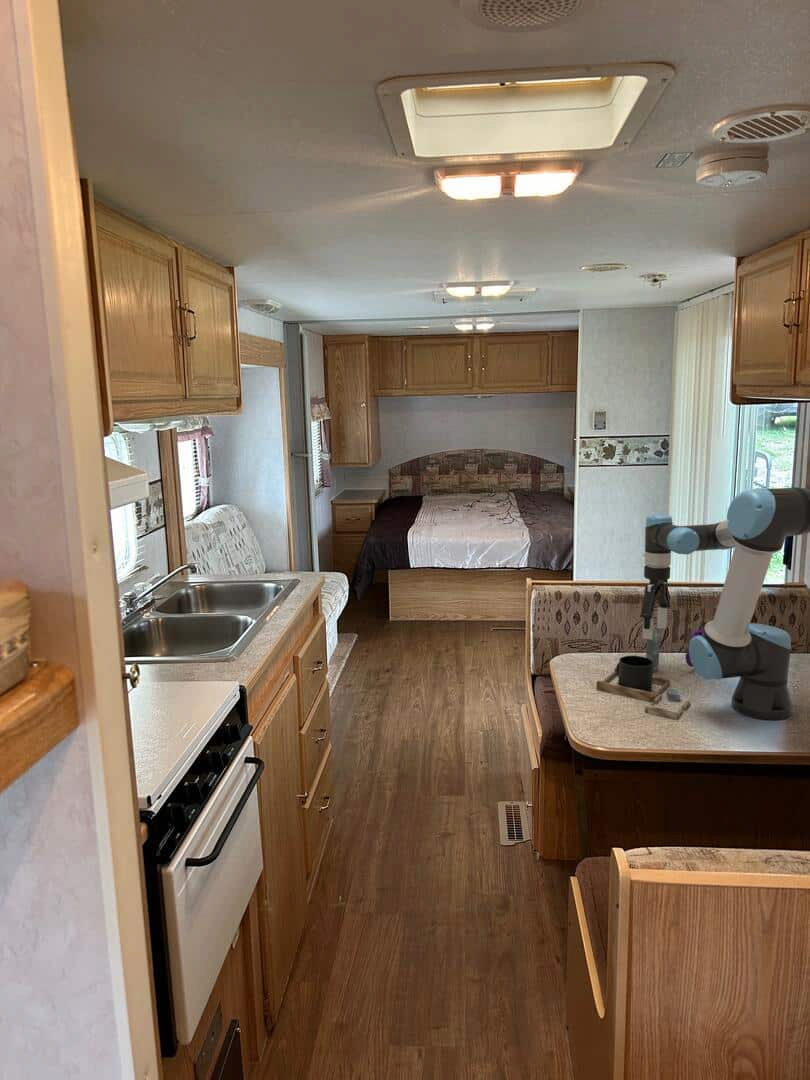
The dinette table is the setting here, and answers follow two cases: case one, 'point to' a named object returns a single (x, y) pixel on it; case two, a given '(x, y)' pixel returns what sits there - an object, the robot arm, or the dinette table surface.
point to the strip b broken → (672, 696)
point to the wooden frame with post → (605, 686)
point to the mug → (635, 672)
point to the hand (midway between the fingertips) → (654, 633)
